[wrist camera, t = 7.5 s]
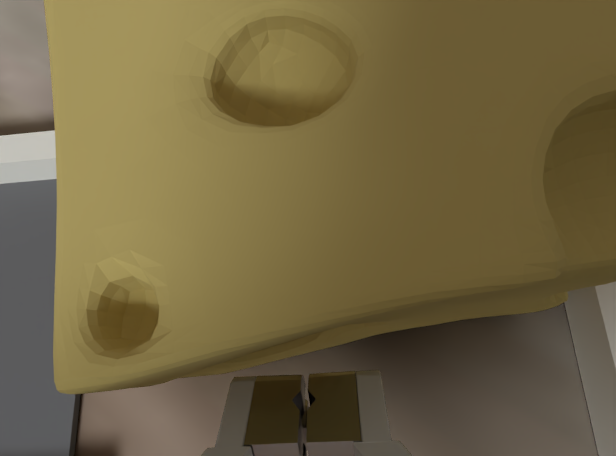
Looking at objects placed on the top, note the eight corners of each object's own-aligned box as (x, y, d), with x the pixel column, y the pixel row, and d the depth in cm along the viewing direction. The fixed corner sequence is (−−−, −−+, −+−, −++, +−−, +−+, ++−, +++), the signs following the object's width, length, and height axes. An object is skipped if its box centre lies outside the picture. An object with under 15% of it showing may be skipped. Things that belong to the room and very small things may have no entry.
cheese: (527, 313, 14) (884, 235, 5) (224, 382, 15) (-16, 438, 5) (435, 66, 17) (538, -281, 8) (187, 128, 18) (-3, -133, 8)
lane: (675, -114, 19) (723, -182, 16) (1008, 666, 11) (1200, 758, 8) (-39, -19, 22) (-87, -65, 19) (-208, 652, 14) (-327, 717, 11)
